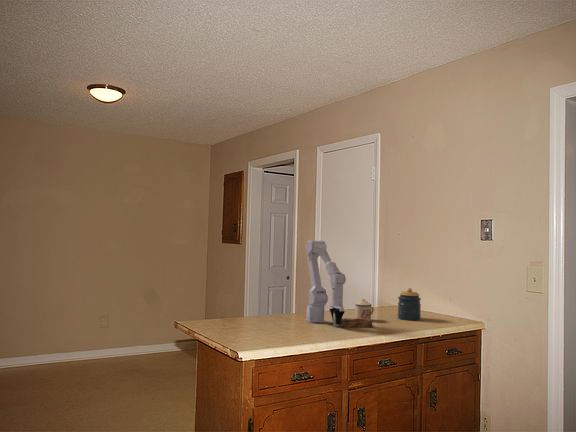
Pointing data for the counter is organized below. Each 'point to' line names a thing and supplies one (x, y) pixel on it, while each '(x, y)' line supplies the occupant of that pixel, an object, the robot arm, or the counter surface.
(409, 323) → the counter surface
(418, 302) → the canister
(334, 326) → the peg
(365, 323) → the groove board
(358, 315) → the teacup with lid
